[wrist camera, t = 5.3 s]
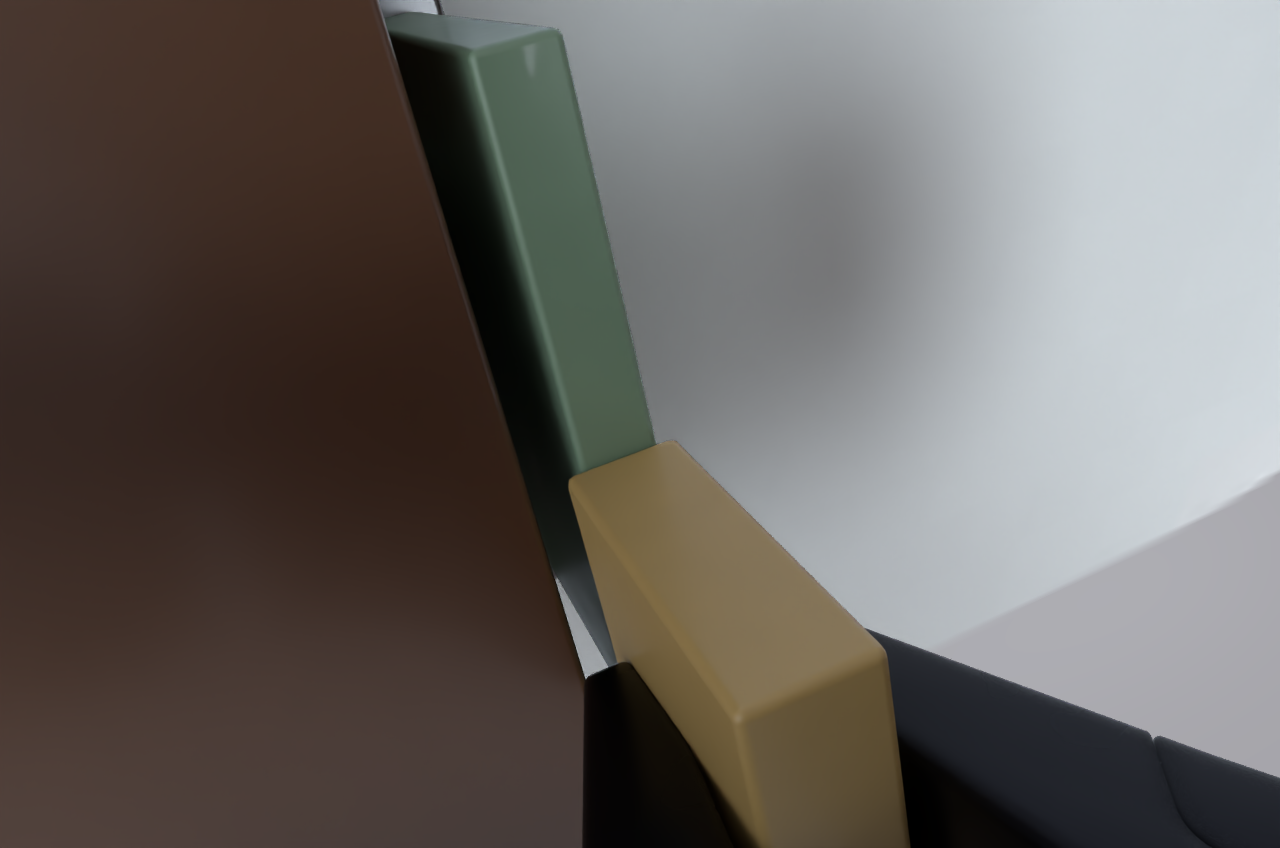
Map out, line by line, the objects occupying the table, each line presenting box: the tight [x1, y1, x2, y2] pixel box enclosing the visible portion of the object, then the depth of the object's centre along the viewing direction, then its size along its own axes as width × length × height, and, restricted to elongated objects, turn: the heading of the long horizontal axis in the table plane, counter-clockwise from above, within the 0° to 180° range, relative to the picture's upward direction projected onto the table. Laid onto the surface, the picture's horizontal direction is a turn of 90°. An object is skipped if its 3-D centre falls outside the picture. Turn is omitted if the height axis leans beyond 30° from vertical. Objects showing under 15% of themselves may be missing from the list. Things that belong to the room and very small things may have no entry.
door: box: [384, 12, 911, 848], centre depth 10 cm, size 7×1×9 cm, turn 12°
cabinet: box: [0, 0, 585, 848], centre depth 9 cm, size 14×10×7 cm
